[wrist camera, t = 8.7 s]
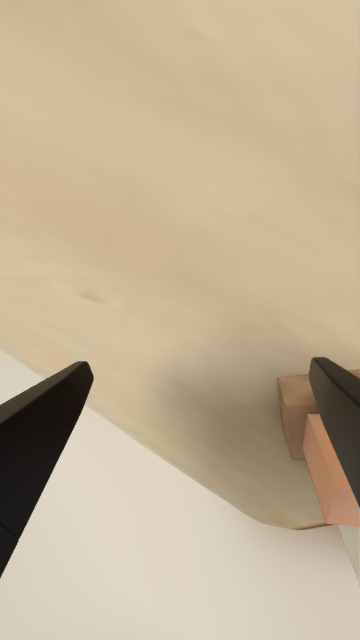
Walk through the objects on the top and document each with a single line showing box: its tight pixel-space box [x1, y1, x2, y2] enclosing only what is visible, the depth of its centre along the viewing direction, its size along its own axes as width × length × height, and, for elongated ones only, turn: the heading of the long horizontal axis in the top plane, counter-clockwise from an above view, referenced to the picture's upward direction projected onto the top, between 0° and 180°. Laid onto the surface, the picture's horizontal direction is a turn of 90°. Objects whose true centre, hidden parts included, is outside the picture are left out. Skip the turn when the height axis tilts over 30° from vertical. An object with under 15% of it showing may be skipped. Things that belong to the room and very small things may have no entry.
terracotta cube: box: [302, 414, 360, 527], centre depth 18 cm, size 5×5×6 cm
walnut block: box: [277, 369, 360, 460], centre depth 23 cm, size 8×8×4 cm
